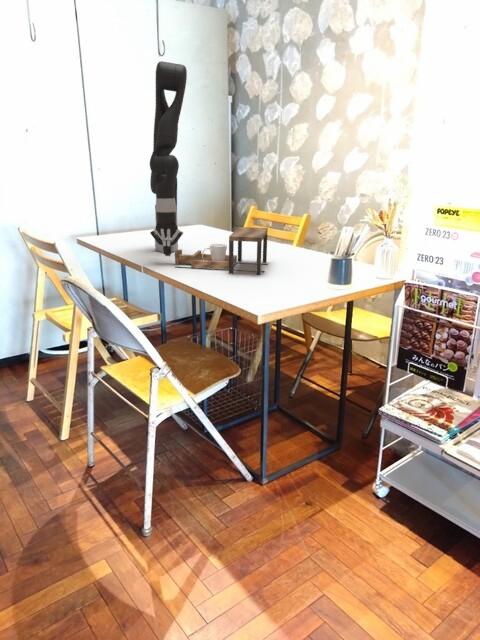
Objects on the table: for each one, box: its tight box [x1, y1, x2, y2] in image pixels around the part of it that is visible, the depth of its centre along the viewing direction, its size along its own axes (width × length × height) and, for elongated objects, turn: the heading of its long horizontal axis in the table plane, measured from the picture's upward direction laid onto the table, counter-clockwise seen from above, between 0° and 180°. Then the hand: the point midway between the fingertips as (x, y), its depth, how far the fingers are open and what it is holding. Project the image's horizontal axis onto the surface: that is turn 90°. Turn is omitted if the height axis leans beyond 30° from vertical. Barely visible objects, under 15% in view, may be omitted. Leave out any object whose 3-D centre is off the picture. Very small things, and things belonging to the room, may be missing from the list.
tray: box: [174, 249, 238, 269], centre depth 192 cm, size 22×13×4 cm, turn 81°
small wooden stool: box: [228, 226, 269, 276], centre depth 189 cm, size 12×22×14 cm, turn 171°
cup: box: [201, 242, 228, 262], centre depth 192 cm, size 7×10×8 cm
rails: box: [174, 261, 269, 273], centre depth 192 cm, size 34×13×1 cm, turn 81°
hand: (167, 255), depth 194 cm, fingers closed
